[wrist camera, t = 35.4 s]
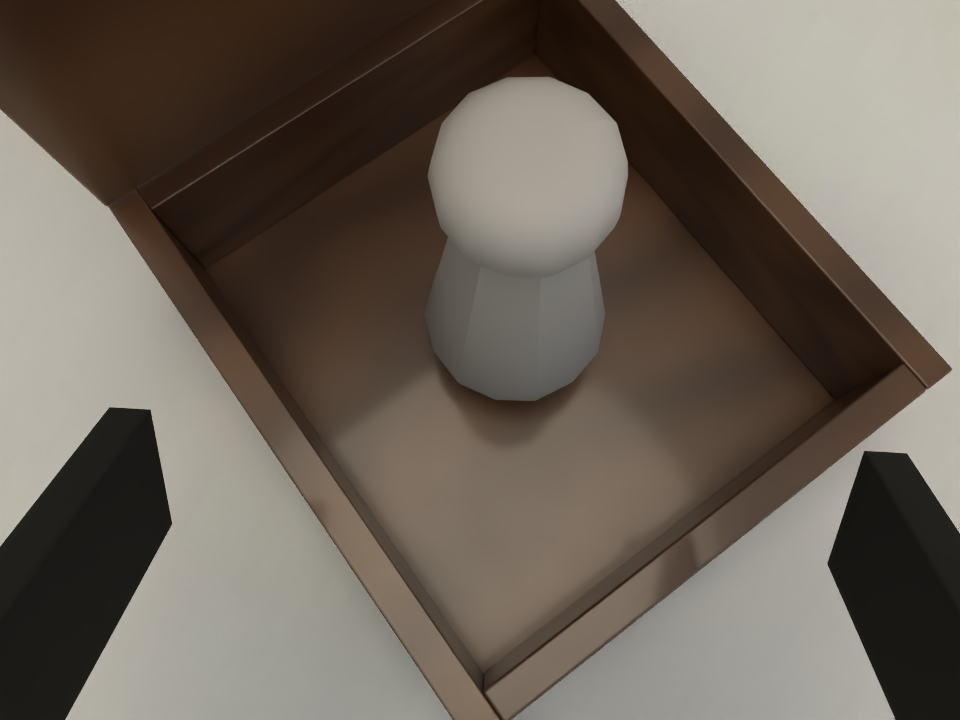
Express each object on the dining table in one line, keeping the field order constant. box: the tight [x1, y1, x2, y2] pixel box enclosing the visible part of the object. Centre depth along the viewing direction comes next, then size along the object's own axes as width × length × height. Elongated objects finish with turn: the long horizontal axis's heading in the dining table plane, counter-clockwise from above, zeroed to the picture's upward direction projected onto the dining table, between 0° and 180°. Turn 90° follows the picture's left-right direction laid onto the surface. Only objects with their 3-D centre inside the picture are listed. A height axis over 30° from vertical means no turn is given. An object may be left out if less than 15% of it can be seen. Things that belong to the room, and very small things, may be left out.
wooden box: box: [108, 0, 952, 720], centre depth 28 cm, size 19×17×6 cm
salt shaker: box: [424, 77, 628, 401], centre depth 23 cm, size 6×6×13 cm
